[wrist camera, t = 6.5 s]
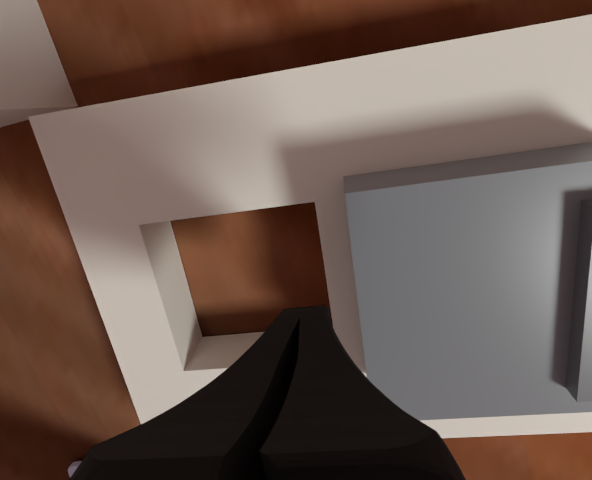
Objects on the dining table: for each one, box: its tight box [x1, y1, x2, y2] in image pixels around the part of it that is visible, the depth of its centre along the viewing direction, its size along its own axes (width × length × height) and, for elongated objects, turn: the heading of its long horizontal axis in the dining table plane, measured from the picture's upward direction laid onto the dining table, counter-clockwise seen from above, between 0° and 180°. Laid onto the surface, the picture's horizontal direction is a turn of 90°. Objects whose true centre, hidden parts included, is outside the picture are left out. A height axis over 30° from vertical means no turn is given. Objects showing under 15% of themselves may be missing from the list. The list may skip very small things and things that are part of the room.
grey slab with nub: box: [343, 142, 592, 420], centre depth 12 cm, size 8×8×3 cm
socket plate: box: [28, 14, 592, 438], centre depth 16 cm, size 15×20×2 cm
